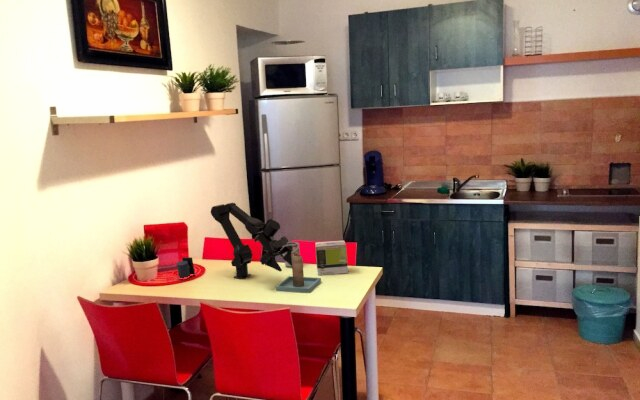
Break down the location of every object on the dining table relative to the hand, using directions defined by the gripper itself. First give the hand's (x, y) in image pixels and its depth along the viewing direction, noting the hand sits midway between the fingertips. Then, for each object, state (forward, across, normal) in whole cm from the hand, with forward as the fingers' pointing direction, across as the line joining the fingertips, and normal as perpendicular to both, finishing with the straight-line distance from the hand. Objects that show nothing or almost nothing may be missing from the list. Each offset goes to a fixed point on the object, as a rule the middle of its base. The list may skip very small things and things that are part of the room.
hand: (287, 268), depth 254 cm
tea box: (+11, +26, +1) cm, 28 cm away
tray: (+10, 0, +1) cm, 10 cm away
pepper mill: (+9, 0, +1) cm, 9 cm away
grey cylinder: (-7, +26, +19) cm, 33 cm away
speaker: (-32, -14, +44) cm, 57 cm away
